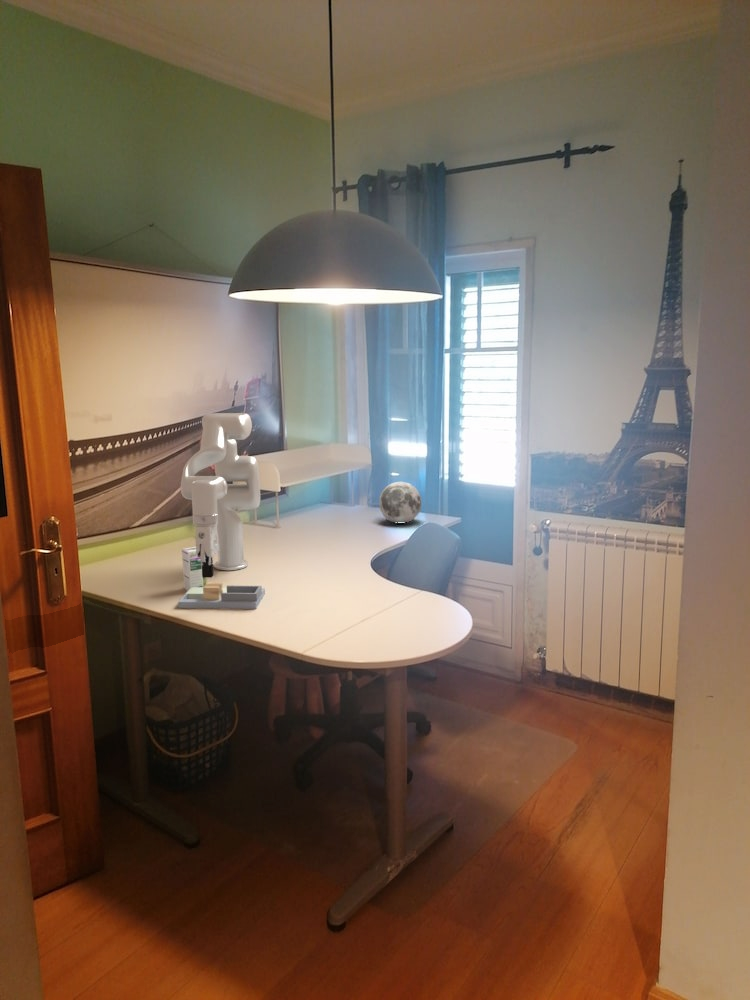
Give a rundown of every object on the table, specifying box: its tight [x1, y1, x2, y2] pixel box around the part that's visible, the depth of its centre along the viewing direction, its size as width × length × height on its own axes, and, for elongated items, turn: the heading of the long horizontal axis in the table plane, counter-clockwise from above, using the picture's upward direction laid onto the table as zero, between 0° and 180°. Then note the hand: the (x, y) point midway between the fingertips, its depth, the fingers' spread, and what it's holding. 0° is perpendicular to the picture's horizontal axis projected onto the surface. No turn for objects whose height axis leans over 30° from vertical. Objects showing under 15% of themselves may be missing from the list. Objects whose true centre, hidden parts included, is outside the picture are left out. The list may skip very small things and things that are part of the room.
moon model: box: [378, 481, 422, 524], centre depth 348 cm, size 20×20×20 cm
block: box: [203, 582, 224, 600], centre depth 238 cm, size 5×5×4 cm
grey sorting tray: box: [177, 585, 266, 610], centre depth 240 cm, size 15×25×4 cm, turn 88°
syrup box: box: [181, 546, 207, 592], centre depth 251 cm, size 6×6×14 cm
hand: (207, 576), depth 231 cm, fingers closed
